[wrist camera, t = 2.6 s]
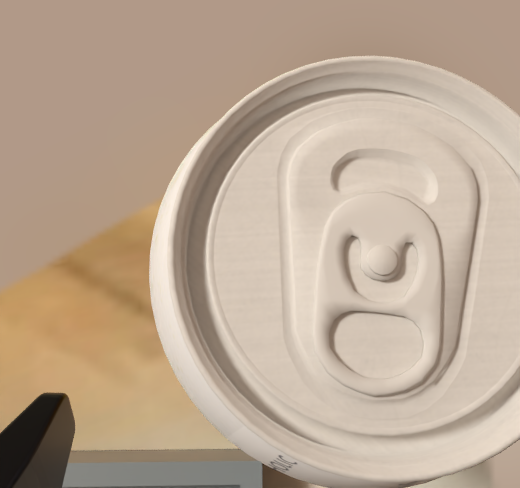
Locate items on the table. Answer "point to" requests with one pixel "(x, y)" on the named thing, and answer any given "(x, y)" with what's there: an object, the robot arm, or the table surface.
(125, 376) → the table surface
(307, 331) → the beer can
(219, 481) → the tray
